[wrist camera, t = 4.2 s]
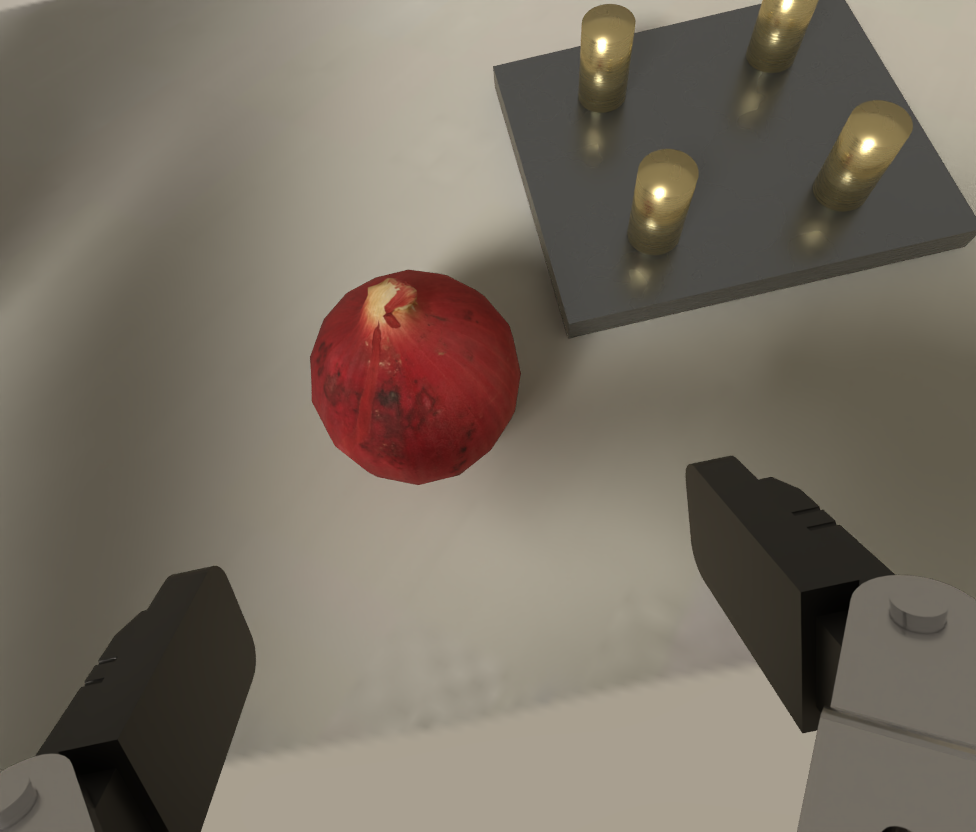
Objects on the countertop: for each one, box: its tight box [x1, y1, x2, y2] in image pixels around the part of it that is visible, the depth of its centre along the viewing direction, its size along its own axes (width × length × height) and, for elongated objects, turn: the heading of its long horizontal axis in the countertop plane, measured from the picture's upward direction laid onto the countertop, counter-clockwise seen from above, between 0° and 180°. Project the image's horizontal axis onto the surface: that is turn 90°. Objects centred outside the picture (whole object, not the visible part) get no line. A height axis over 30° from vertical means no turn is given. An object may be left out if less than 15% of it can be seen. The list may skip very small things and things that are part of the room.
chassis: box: [493, 0, 976, 338], centre depth 23 cm, size 14×12×4 cm
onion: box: [310, 270, 521, 485], centre depth 18 cm, size 6×6×8 cm
